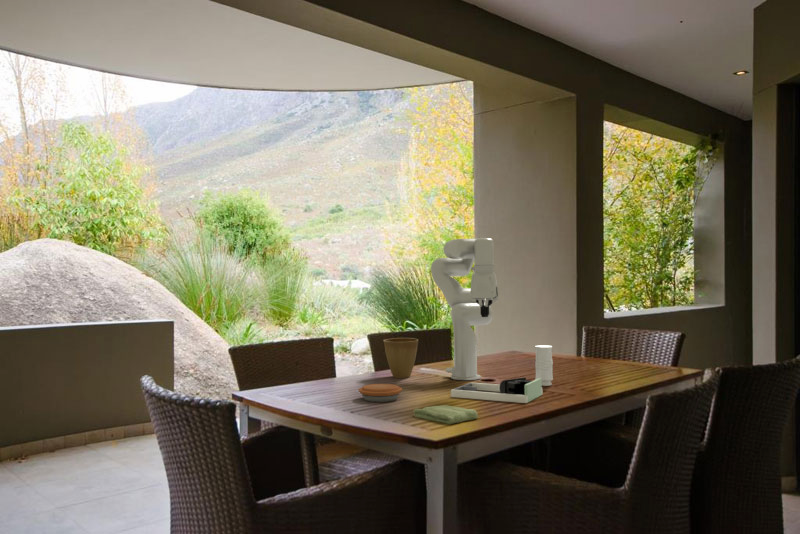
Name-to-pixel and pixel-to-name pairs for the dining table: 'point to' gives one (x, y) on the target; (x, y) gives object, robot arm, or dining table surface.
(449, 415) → the washcloth
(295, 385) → the dining table surface
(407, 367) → the plant pot
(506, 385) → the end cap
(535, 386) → the finger lane
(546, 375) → the candle
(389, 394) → the pie
